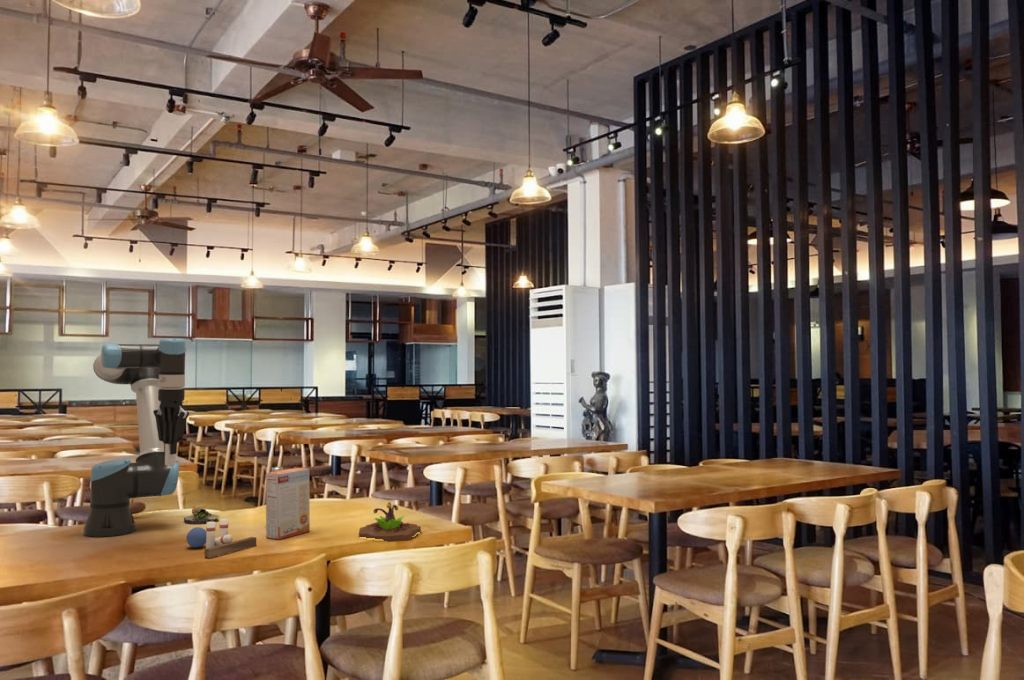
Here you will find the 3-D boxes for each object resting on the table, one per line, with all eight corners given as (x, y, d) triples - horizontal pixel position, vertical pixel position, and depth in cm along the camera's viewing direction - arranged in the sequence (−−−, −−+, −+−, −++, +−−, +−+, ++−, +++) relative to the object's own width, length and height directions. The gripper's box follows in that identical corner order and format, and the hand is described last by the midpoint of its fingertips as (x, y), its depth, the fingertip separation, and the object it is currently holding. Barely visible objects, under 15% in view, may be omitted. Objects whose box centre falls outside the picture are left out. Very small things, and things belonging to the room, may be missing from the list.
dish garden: (208, 526, 275) (208, 504, 275) (176, 525, 277) (176, 503, 277) (225, 519, 287) (226, 498, 287) (195, 518, 289) (195, 497, 289)
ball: (198, 539, 237) (192, 554, 239) (214, 533, 242) (208, 548, 244) (185, 526, 239) (179, 541, 241) (202, 520, 244) (196, 536, 246)
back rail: (204, 557, 229) (204, 549, 229) (251, 545, 245) (251, 536, 245) (209, 558, 228) (209, 549, 228) (256, 545, 244) (256, 537, 244)
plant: (351, 542, 250) (351, 506, 251) (364, 529, 270) (365, 496, 270) (415, 543, 250) (415, 507, 250) (424, 530, 269) (424, 496, 270)
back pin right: (204, 551, 236) (204, 522, 236) (210, 550, 238) (211, 521, 239) (210, 552, 235) (210, 523, 235) (217, 550, 237) (217, 522, 238)
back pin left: (217, 548, 241) (217, 519, 241) (223, 546, 243) (224, 518, 243) (223, 549, 240) (223, 520, 240) (229, 547, 242) (230, 519, 242)
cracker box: (296, 530, 267) (297, 467, 267) (310, 532, 264) (310, 468, 264) (264, 538, 255) (265, 472, 255) (278, 540, 252) (278, 473, 252)
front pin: (205, 541, 240) (225, 534, 236) (211, 539, 242) (231, 533, 239) (206, 549, 239) (227, 543, 236) (213, 548, 241) (233, 541, 238)
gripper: (146, 388, 248) (145, 464, 248) (176, 389, 242) (175, 468, 242) (166, 387, 254) (165, 461, 254) (196, 388, 249) (195, 464, 249)
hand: (170, 464), depth 248 cm, fingers closed
